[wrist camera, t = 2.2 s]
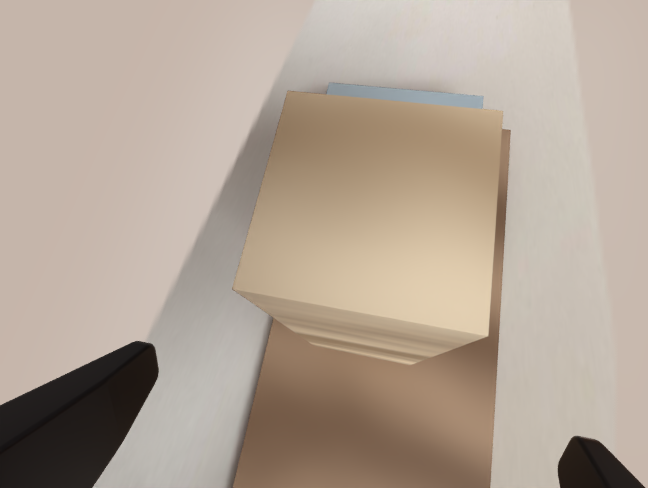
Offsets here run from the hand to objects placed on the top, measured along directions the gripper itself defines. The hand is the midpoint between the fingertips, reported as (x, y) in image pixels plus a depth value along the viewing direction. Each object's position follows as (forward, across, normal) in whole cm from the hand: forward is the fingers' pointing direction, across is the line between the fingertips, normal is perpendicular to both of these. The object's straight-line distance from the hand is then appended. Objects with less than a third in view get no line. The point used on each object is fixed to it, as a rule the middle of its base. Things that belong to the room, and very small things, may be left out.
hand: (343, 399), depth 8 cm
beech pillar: (+10, 0, +4) cm, 11 cm away
